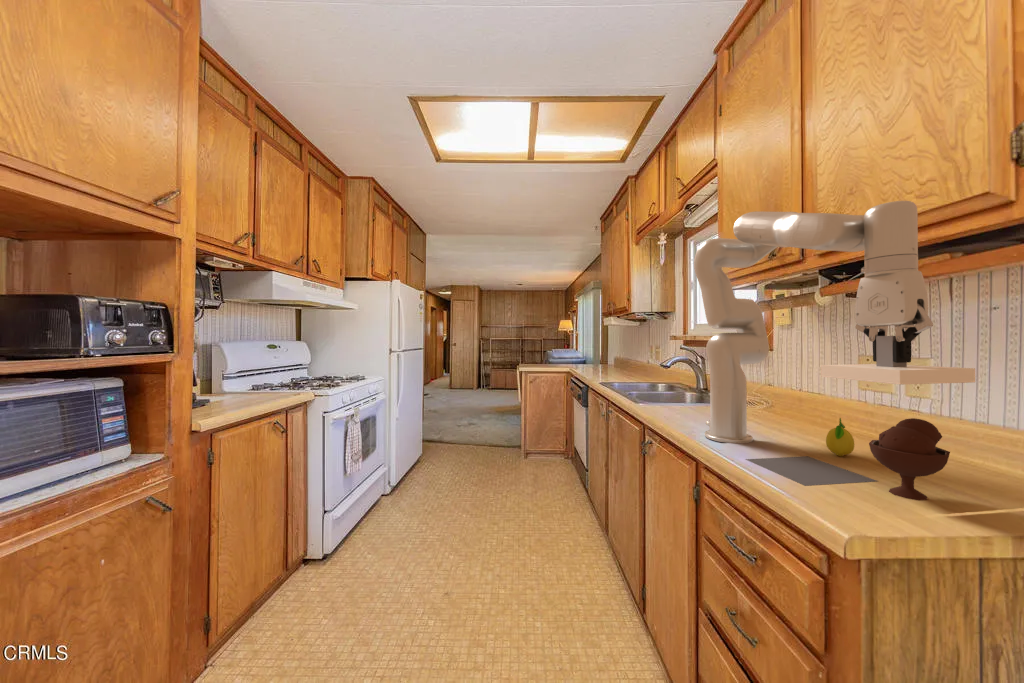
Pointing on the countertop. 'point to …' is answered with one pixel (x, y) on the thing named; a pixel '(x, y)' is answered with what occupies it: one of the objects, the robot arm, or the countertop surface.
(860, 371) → the lid
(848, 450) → the lemon
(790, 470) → the mat
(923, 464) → the ice cream bowl
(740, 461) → the countertop surface
